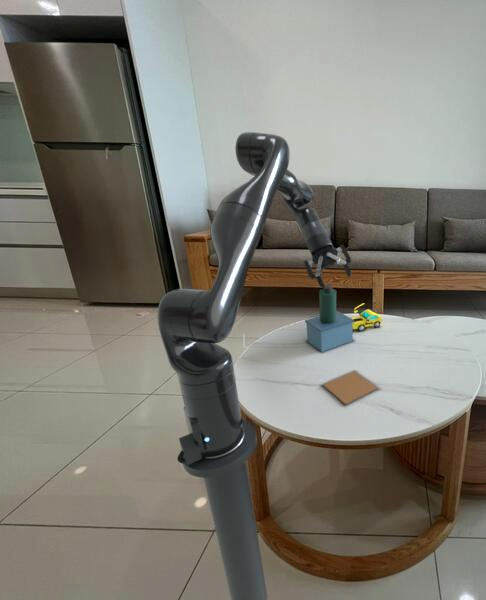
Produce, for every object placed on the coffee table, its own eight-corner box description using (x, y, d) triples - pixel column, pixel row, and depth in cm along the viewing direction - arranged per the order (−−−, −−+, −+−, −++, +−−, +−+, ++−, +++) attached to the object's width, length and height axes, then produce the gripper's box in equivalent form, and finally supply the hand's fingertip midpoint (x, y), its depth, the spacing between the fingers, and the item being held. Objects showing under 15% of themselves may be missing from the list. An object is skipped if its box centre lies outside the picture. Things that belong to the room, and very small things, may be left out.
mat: (345, 405, 77) (345, 403, 77) (323, 385, 84) (323, 384, 84) (377, 389, 83) (377, 387, 83) (354, 372, 90) (354, 371, 90)
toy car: (373, 319, 125) (373, 299, 122) (383, 327, 119) (383, 306, 116) (344, 325, 119) (344, 304, 116) (353, 333, 113) (353, 312, 110)
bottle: (328, 325, 101) (328, 292, 96) (316, 319, 104) (315, 286, 98) (339, 319, 105) (339, 286, 100) (327, 313, 107) (327, 282, 102)
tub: (321, 352, 100) (320, 330, 97) (306, 341, 107) (304, 319, 104) (354, 340, 108) (353, 319, 105) (337, 331, 115) (337, 310, 112)
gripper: (293, 243, 100) (313, 288, 97) (335, 224, 101) (356, 269, 98) (299, 251, 107) (318, 294, 104) (338, 234, 109) (358, 276, 106)
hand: (337, 282), depth 101 cm, fingers open, 8 cm apart
